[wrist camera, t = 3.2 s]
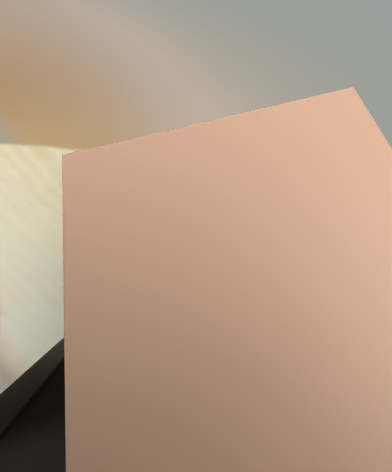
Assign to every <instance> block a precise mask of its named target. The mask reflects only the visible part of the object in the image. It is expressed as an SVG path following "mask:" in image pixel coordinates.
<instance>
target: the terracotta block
mask: <svg viewBox="0 0 392 472" xmlns="http://www.w3.org/2000/svg"><path fill="white" fill-rule="evenodd" d="M62 182H63V268H64V354H65V440H66V472H392V149H391V147H390V145H389V144H388V142H387V141H386V139H385V137H384V136H383V134H382V133H381V131H380V129H379V128H378V126H377V125H376V123H375V121H374V120H373V118H372V117H371V115H370V113H369V112H368V110H367V108H366V107H365V105H364V104H363V102H362V100H361V99H360V97H359V96H358V94H357V92H356V91H355V89H354V88H353V87H352V88H348V89H343V90H339V91H335V92H330V93H326V94H322V95H318V96H313V97H309V98H305V99H300V100H296V101H292V102H288V103H284V104H279V105H275V106H270V107H266V108H262V109H257V110H253V111H249V112H245V113H240V114H236V115H232V116H228V117H224V118H219V119H215V120H210V121H206V122H202V123H197V124H193V125H189V126H185V127H180V128H176V129H172V130H167V131H163V132H159V133H155V134H150V135H146V136H142V137H138V138H133V139H129V140H125V141H120V142H116V143H112V144H108V145H103V146H99V147H95V148H90V149H86V150H82V151H77V152H73V153H69V154H65V155H62Z"/></svg>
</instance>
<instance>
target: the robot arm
mask: <svg viewBox="0 0 392 472" xmlns="http://www.w3.org/2000/svg"><path fill="white" fill-rule="evenodd" d="M0 472H66V440H65V354H64V338H63V339H62V340H61V341H60V342H58V343H57V344H56V345H55V346H54V347H53V348H52V349H51V350H49V351H48V352H47V353H46V354H45V355H44V356H43V357H42V358H40V359H39V360H38V361H37V362H36V363H35V364H34V365H33V366H31V367H30V368H29V369H28V370H27V371H26V372H25V373H24V374H23V375H21V376H20V377H19V378H18V379H17V380H16V381H15V382H14V383H12V384H11V385H10V386H9V387H8V388H7V389H6V390H5V391H3V392H2V393H1V394H0Z"/></svg>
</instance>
